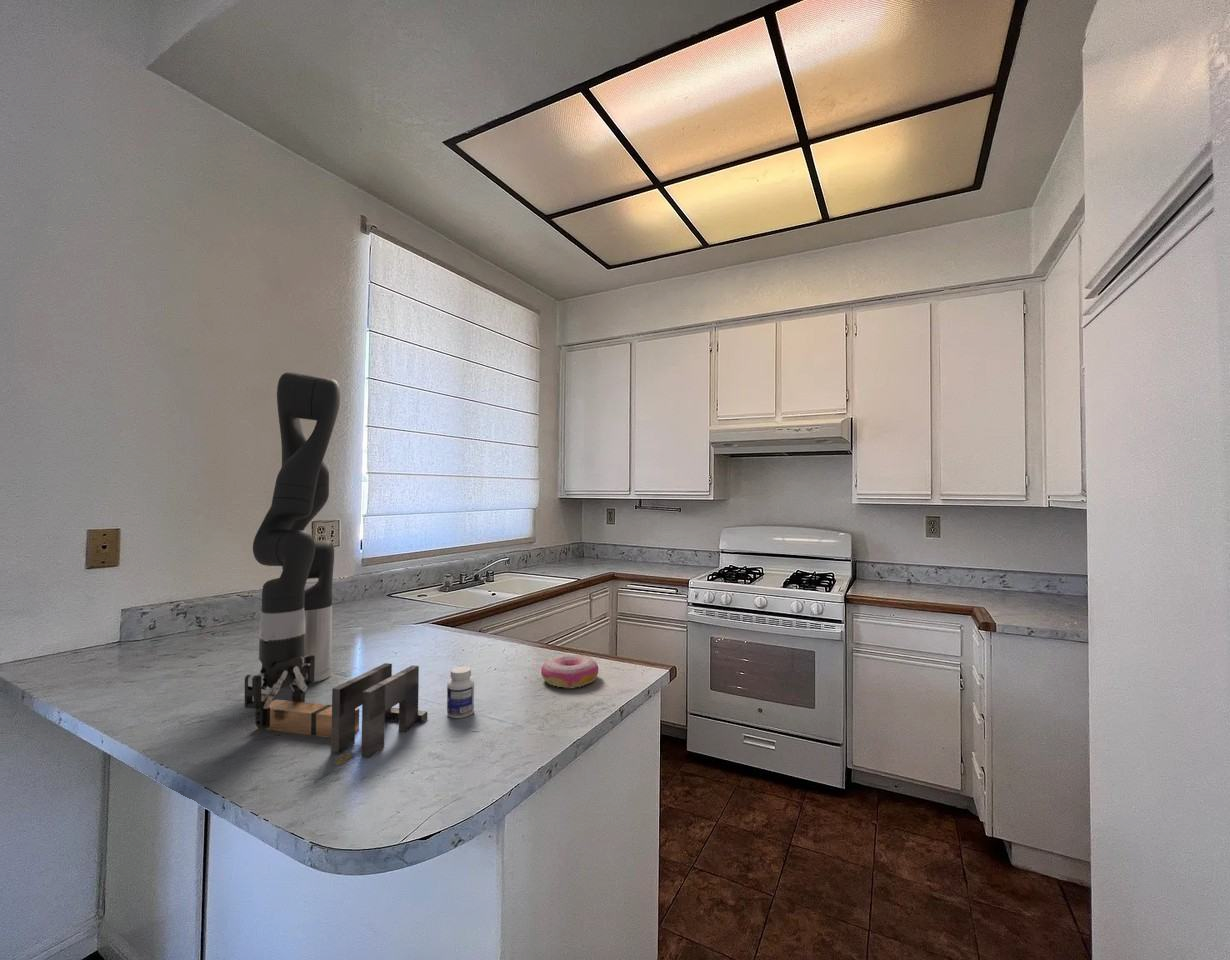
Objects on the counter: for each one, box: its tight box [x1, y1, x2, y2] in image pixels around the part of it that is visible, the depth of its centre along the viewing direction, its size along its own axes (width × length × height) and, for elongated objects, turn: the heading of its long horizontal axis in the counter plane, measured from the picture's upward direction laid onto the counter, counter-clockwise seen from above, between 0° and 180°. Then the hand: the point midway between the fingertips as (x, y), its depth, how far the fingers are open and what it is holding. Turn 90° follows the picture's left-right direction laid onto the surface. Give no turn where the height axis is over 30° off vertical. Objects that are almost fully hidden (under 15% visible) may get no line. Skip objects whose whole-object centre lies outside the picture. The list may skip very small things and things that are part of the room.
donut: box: [540, 654, 599, 689], centre depth 125 cm, size 14×13×5 cm
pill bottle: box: [446, 666, 475, 719], centre depth 106 cm, size 5×5×9 cm
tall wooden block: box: [257, 699, 360, 738], centre depth 99 cm, size 19×4×4 cm, turn 77°
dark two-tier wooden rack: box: [330, 662, 428, 766], centre depth 95 cm, size 9×19×11 cm, turn 167°
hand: (280, 719), depth 100 cm, fingers open, 7 cm apart
